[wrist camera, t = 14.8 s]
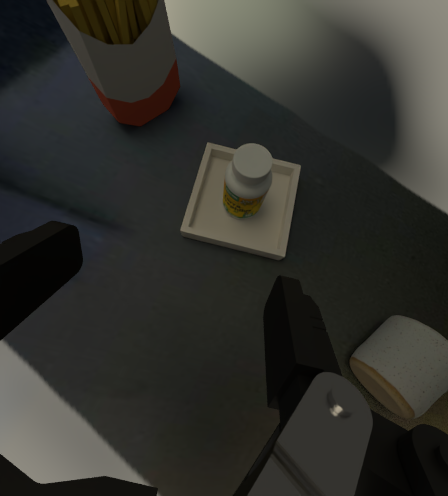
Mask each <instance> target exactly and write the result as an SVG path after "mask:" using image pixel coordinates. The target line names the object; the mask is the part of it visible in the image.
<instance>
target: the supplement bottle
mask: <svg viewBox="0 0 448 496" xmlns="http://www.w3.org/2000/svg"><path fill="white" fill-rule="evenodd" d="M272 164H273V161H272V156H271V154H270V152H269V151H268V150H267V149H266V148H264V147H263V146H261V145H258V144H253V143H251V144H245V145H243V146H241V147H239V148H238V149H237V150H236V152H235V153H234V156H233V160H232V161H231V162H230V163H229V164H228V166H227V168H226V171H225V179H224V190H223V206H224V209H225V210H226V212H227V213H228V214H229V215H230V216H232V217H234V218H236V219H248V218H251V217H253V216H254V215H255V214H256V213H257V212H258V211H259V209H260V207H261V205H262V203H263V201H264V199H265V197H266V194H267V192H268V190H269V188H270V186H271V184H272V171H271V168H272Z"/></svg>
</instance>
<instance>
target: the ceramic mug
mask: <svg viewBox="0 0 448 496" xmlns="http://www.w3.org/2000/svg"><path fill="white" fill-rule="evenodd" d="M350 367H351V370H352V371H353V373H354V374H355V376H356V377H357V379H358V380H359V381H360V382H361V384H362V385H363V386H364V387H365V388H366V389H367V390H368V391H369V392H370V393H371V394H372V395H373V396H374V397H375V398H376V399H377V400H378V401H379V402H380V403H381V404H382V405H384V406H385V407H386V408H387V409H389V410H390V411H391V412H393V413H394V414H396V415H398V416H399V417H402V418H406V419H414V418H417V417H419V416H421V415H422V414H424V413H425V412H426V411H427V410H428V409H429V408H430V406H431V405H432V404H433V403H434V402H435V401H436V400H437V399H438V398H439V397H440V396H441V395H443V394H444V393H445V392H446V391H447V390H448V340H446V339H445V338H444V337H443V336H442V335H440V334H439V333H438V332H436V331H435V330H433V329H432V328H430V327H428V326H426V325H424V324H422V323H421V322H419V321H417V320H414V319H411V318H408V317H404V316H399V315H396V316H391V317H389V318H388V319H387V320H386V321H385V322H384V323H383V324H382V325H381V326H380V327H379V328H378V329H377V330H376V331H375V332H374V333H373V334H372V335H371V336H370V337H369V338H368V339H367V340H366V341H365V342H363V343H362V344H361V345H360V346H359V347H358V348H357V349H356V350H355V351H354V353H353V354H352V356H351V358H350Z"/></svg>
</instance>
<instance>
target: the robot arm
mask: <svg viewBox="0 0 448 496" xmlns="http://www.w3.org/2000/svg"><path fill="white" fill-rule="evenodd" d="M82 263H83V256H82V250H81V243H80V237H79V231H78V229H77V227H76V226H74V225H69V224H65V223H61V222H57V221H50V222H48V223H46V224H44V225H42V226H40V227H38V228H36V229H34V230H32V231H29V232H25V233H22V234H18V235H16V236H14V237H12V238H9V239H7V240H5V241H3V242H2V244H0V340H2V339H3V338H4V337H5V336H6V335H7V334H8V333H10V332H11V331H12V330H13V329H14V328H15V327H16V326H18V325H19V324H20V323H21V322H22V321H23V320H24V319H26V318H27V317H28V316H29V315H30V314H31V313H32V312H34V311H35V310H36V309H37V308H38V307H39V306H40V305H42V304H43V303H44V302H45V301H46V300H47V299H48V298H50V297H51V296H52V295H53V294H54V293H55V292H56V291H58V290H59V289H60V288H61V287H62V286H63V285H64V284H66V283H67V282H68V281H69V280H70V279H71V278H72V277H74V276H75V275H76V274H77V273H78V272H79V270H80V268H81V266H82ZM322 320H323V319H322V316H321V313H320V310H319V307H318V306H317V305H316V303H315V302H314V301H313V300H312V298H311V297H310V296H308V295H304V294H303V291H302V288H301V284H300V281H299V280H297V279H293V278H289V277H285V276H281V275H279V276H278V277H277V279H276V281H275V283H274V285H273V288H272V290H271V293H270V295H269V297H268V300H267V302H266V305H265V308H264V315H263V322H264V342H265V362H266V382H267V403H268V407H270V408H274V409H278V410H279V413H280V423H279V424H278V426H277V427H276V429H275V431H274V432H273V434H272V435H271V437H270V438H269V440H268V442H267V443H266V445H265V446H264V448H263V450H262V451H261V453H260V454H259V456H258V457H257V459H256V461H255V462H254V464H253V465H252V467H251V468H250V470H249V472H248V473H247V475H246V476H245V478H244V480H243V481H242V483H241V484H240V486H239V487H238V489H237V490H236V491H235V493H234V494H233V496H448V435H447V434H446V433H444V432H443V431H441V430H439V429H437V428H436V427H433V426H430V425H426V424H420V425H417V426H415V427H414V428H412V429H411V430H409V431H407V430H406V429H404V428H402V427H400V426H399V425H397V424H395V423H393V422H392V421H390V420H388V419H386V418H384V417H383V416H381V415H379V414H377V413H376V412H374V411H372V410H371V409H370V408H369V406H368V404H367V402H366V400H365V399H364V397H363V395H362V394H361V393H360V392H359V390H358V389H357V388H356V387H355V386H354V385H353V384H352V383H350V382H349V381H348V380H346V379H345V378H343V376H342V374H341V371H340V368H339V365H338V362H337V359H336V356H335V354H334V351H333V348H332V345H331V342H330V339H329V336H328V333H327V332H326V327H325V325H324V322H323V321H322ZM157 490H158V488H155V487H151V486H146V485H142V484H138V483H133V482H129V481H125V480H120V479H116V478H112V477H107V476H102V477H94V478H86V479H78V480H71V481H63V482H55V483H47V484H40V483H37V482H35V481H33V480H32V479H31V478H29V477H28V476H27V475H26V474H25V473H23V472H22V471H21V470H20V469H18V468H17V467H16V466H14V465H13V464H12V463H11V462H9V461H8V460H7V459H6V458H5V457H3V456H2V455H1V454H0V496H156V495H157Z"/></svg>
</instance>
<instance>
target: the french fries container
mask: <svg viewBox="0 0 448 496" xmlns="http://www.w3.org/2000/svg"><path fill="white" fill-rule="evenodd" d="M47 2H48V4H49V6H50V8H51V10H52V11H53V13H54V15H55V17H56V19H57V21H58V22H59V24H60V26H61V28H62V30H63V32H64V34H65V35H66V37H67V39H68V41H69V43H70V45H71V46H72V48H73V50H74V52H75V54H76V56H77V58H78V59H79V61H80V63H81V65H82V67H83V69H84V70H85V72H86V74H87V76H88V78H89V80H90V81H91V83H92V85H93V87H94V89H95V91H96V93H97V94H98V96H99V98H100V100H101V102H102V104H103V105H104V106H105V107H106V108H107V109H108V111H109V112H110V113H111V114H112V115H113V116H114V117H115V119H116V120H117V121H118V122H119V123H123V124H129V125H135V126H142V125H144V124H145V123H147V122H149V121H150V120H152V119H154V118H155V117H157V116H158V115H160V114H162V113H163V112H165V111H167V110H168V109H169V108H170V106H171V104H172V102H173V100H174V98H175V96H176V94H177V92H178V90H179V88H180V81H179V74H178V67H177V60H176V55H175V50H174V45H173V40H172V36H171V31H170V26H169V22H168V16H167V12H166V7H165V2H164V0H47Z"/></svg>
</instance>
